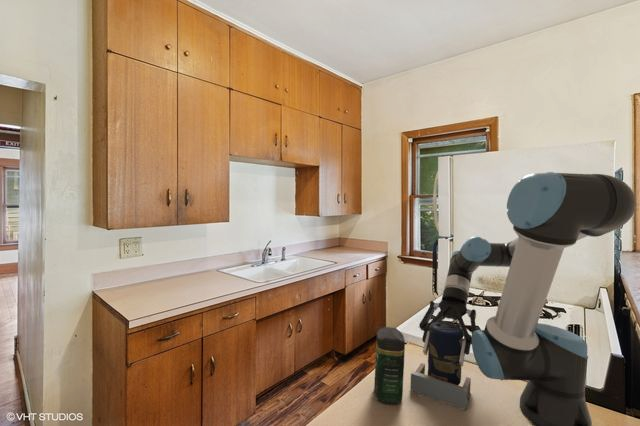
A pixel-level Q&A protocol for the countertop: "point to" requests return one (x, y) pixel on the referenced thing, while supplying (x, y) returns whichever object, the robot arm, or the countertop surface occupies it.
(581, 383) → the robot arm
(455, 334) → the canister
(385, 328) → the coffee jar
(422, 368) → the bracket
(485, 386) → the countertop surface
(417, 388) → the backstop wall
